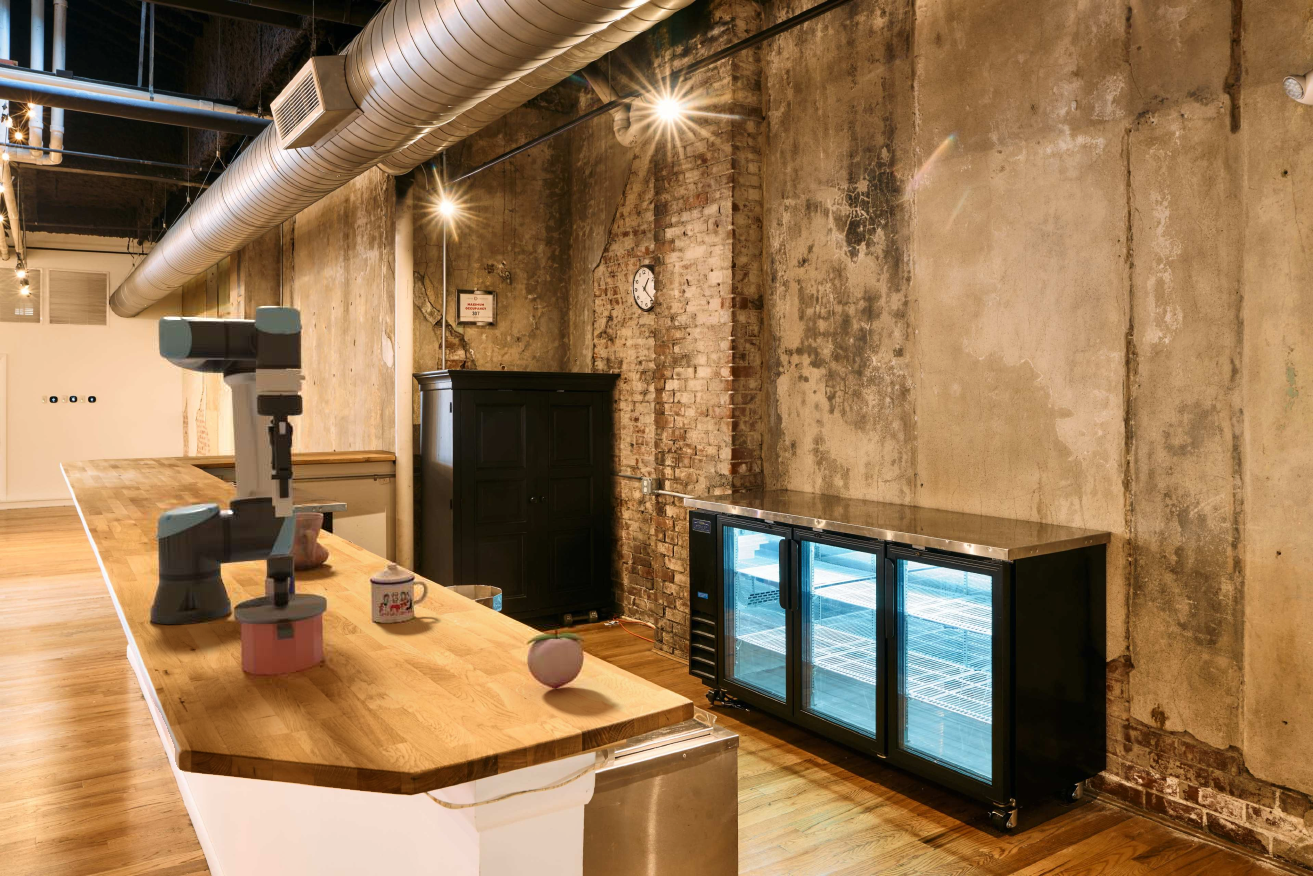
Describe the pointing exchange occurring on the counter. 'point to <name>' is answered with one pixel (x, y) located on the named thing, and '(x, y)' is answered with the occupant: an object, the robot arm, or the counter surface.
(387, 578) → the teacup with lid
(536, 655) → the decorative fruit
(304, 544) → the ceramic jug
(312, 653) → the pot
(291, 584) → the energy drink
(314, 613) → the lid
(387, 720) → the counter surface
